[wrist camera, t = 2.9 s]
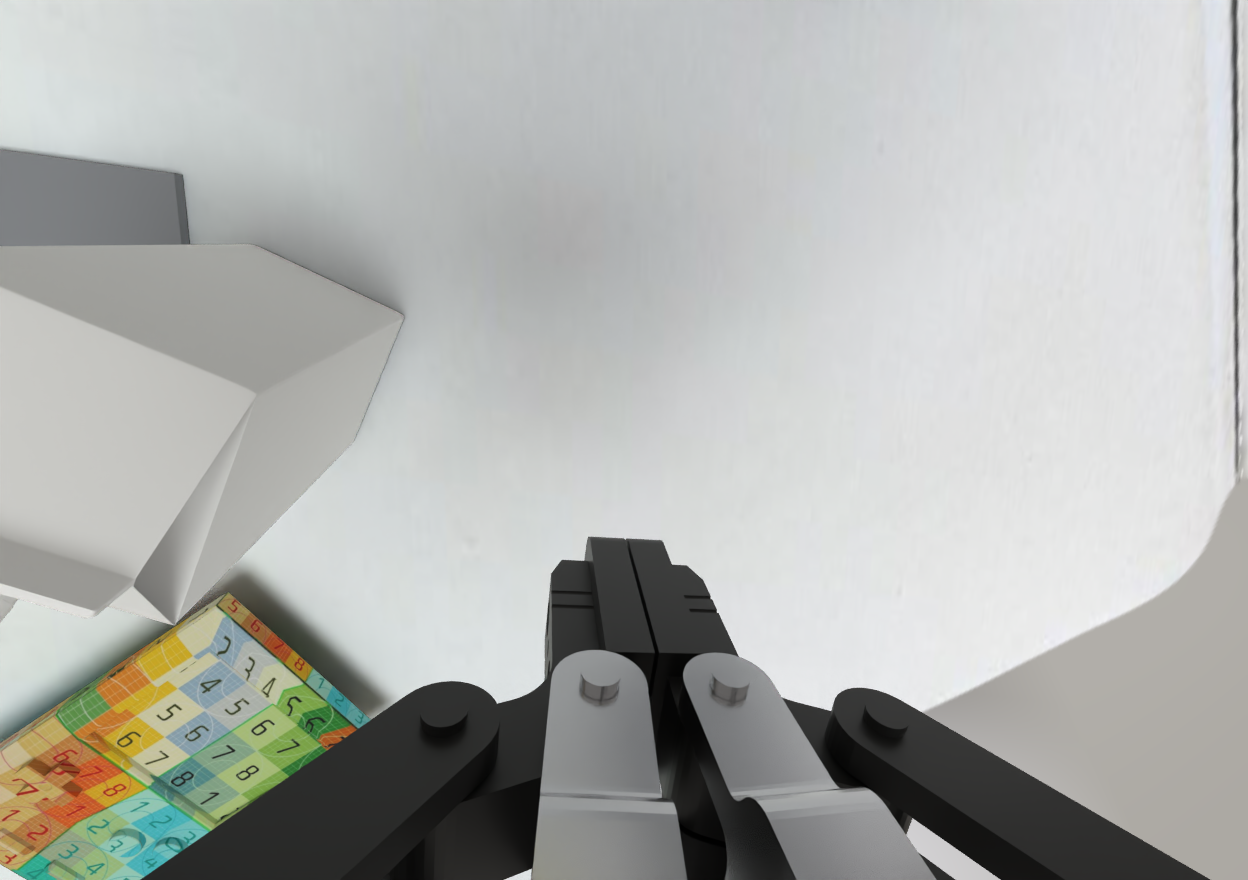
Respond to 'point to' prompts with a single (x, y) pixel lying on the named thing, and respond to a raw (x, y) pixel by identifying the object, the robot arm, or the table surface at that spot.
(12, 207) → the mat
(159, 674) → the puzzle game
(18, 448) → the milk carton
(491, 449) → the table surface
